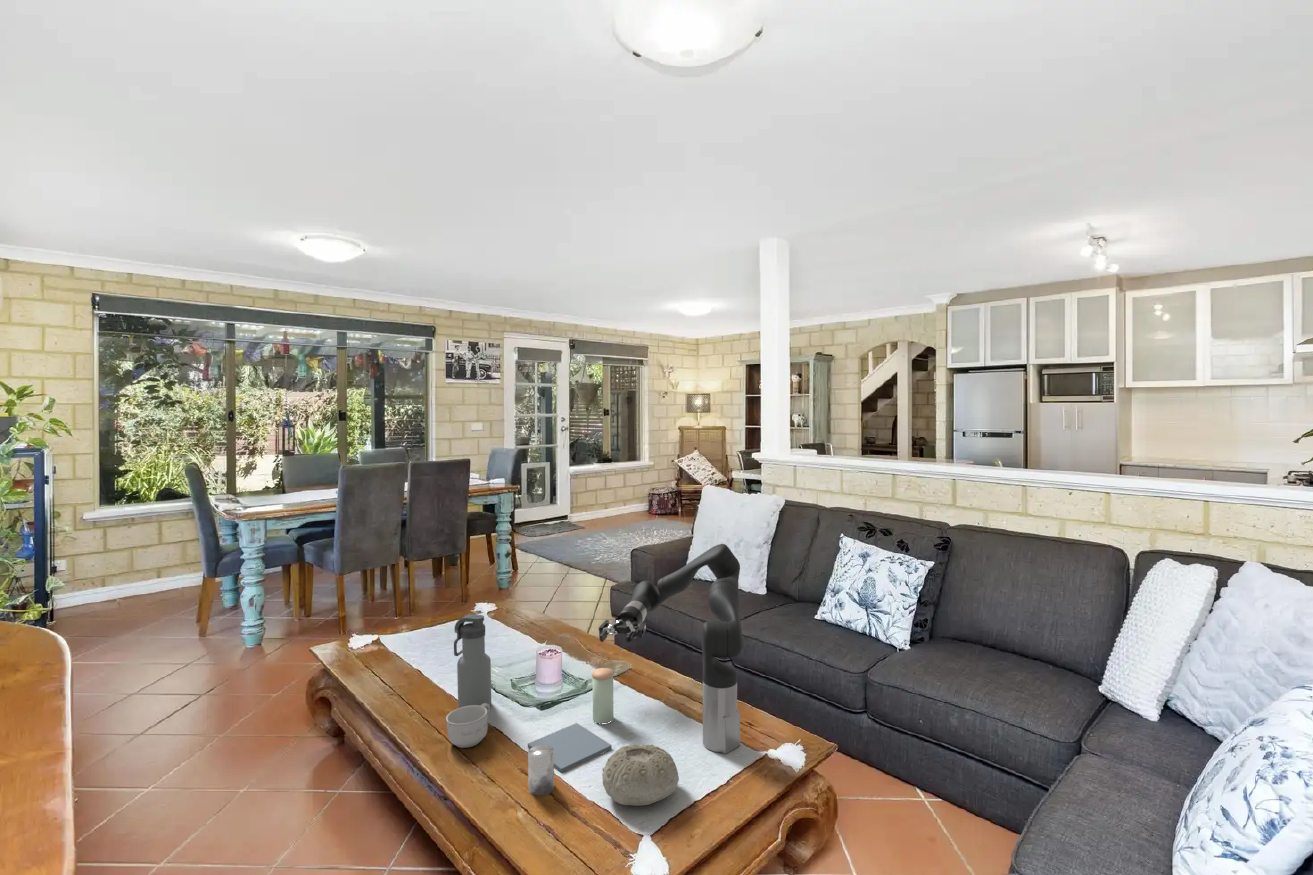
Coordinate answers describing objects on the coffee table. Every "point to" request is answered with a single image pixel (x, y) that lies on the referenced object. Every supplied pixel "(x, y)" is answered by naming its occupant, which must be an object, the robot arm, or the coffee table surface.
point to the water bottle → (472, 662)
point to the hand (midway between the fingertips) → (614, 639)
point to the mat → (572, 746)
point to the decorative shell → (640, 775)
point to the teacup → (468, 725)
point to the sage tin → (603, 695)
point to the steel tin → (541, 770)
